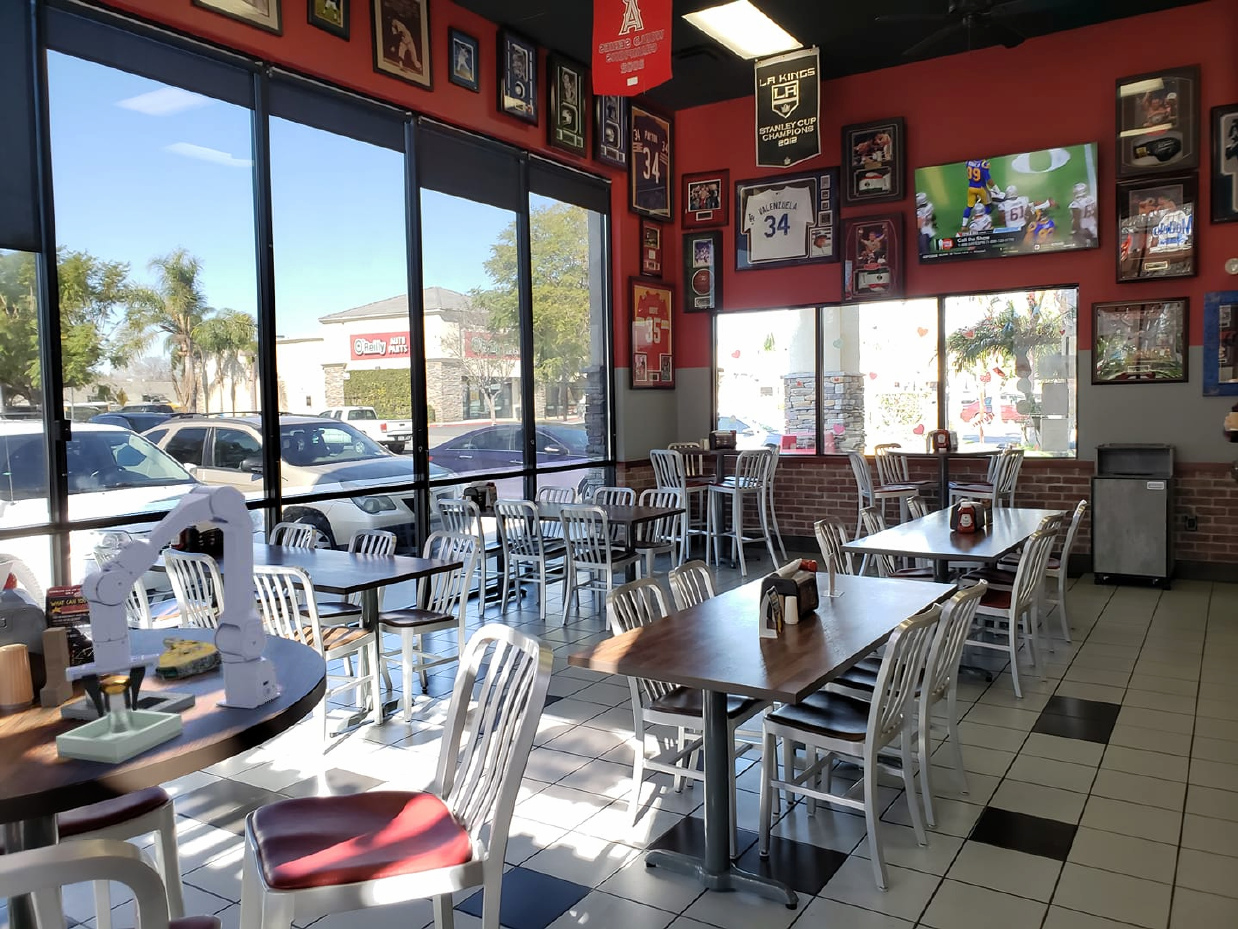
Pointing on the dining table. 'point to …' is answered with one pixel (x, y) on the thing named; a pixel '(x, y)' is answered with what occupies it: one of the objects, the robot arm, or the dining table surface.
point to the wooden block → (56, 668)
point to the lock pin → (117, 703)
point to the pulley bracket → (155, 699)
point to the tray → (119, 737)
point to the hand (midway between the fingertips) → (118, 712)
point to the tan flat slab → (186, 658)
